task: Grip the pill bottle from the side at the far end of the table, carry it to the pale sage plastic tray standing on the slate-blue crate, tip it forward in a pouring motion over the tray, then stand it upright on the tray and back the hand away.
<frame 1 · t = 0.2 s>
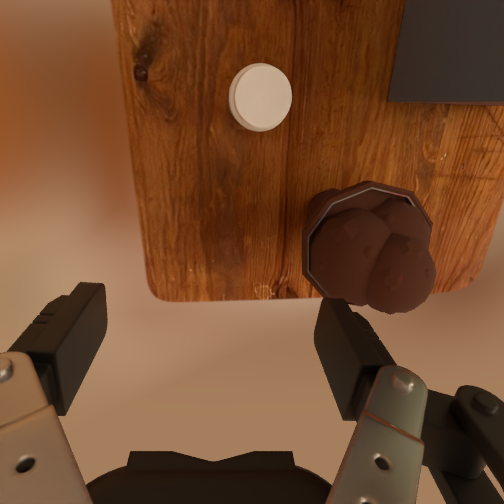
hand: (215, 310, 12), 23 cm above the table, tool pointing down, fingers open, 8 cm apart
ice cream bowl: (331, 213, 36), on the table
pill bottle: (253, 99, 30), on the table
crate: (458, 25, 29), on the table
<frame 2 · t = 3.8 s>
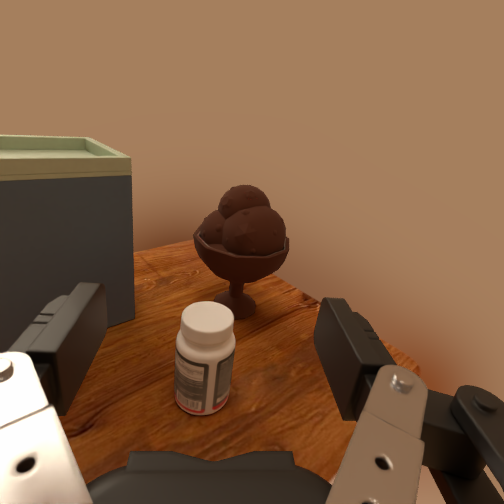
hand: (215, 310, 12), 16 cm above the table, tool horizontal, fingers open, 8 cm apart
ice cream bowl: (233, 307, 41), on the table
pill bottle: (201, 395, 29), on the table
tray: (37, 163, 29), resting on crate
crate: (58, 312, 36), on the table
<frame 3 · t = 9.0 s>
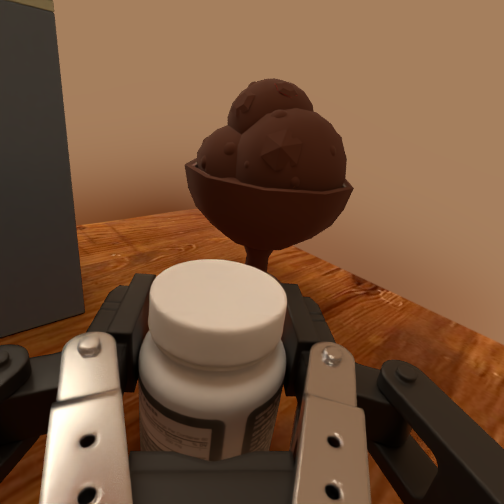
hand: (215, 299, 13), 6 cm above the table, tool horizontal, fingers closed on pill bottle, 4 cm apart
ice cream bowl: (252, 294, 26), on the table
pill bottle: (202, 471, 13), on the table, touching gripper
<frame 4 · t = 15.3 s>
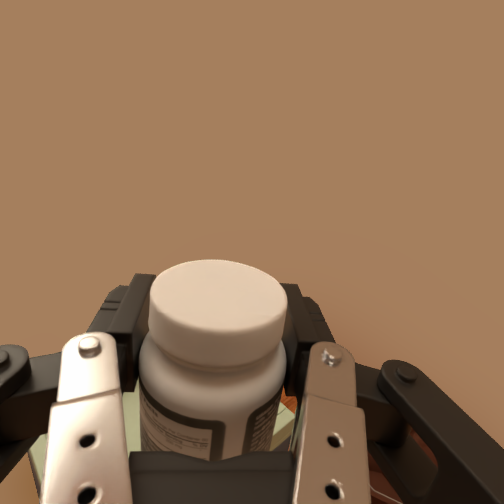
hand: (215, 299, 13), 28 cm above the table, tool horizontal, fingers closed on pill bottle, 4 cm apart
pill bottle: (203, 472, 13), point 21 cm above the table, touching gripper
tray: (161, 428, 20), resting on crate
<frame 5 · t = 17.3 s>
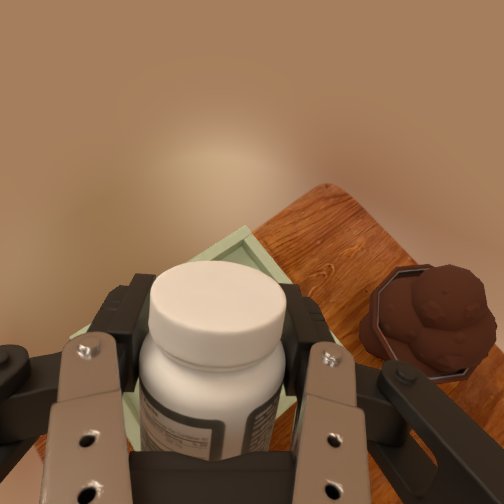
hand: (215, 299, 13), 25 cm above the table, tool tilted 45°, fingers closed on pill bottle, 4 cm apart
ice cream bowl: (380, 334, 39), on the table
pill bottle: (202, 471, 13), point 22 cm above the table, touching gripper
tray: (214, 348, 21), resting on crate
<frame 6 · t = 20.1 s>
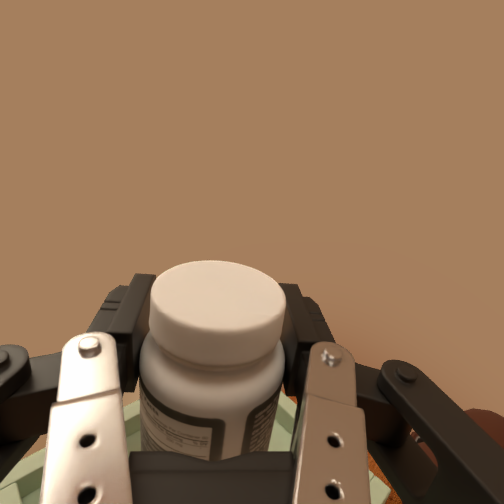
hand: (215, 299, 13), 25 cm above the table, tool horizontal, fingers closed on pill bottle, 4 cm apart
pill bottle: (202, 470, 13), point 18 cm above the table, touching gripper
when the fingers open (23 cm above the table, at t = 21.6 s): pill bottle stays where it is, resting on tray.
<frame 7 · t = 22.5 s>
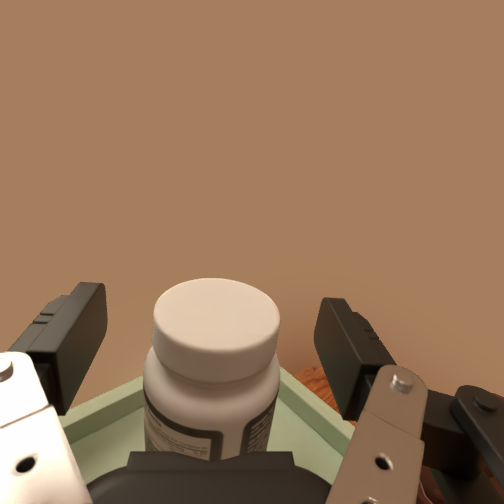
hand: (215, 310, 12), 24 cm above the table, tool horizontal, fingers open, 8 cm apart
pill bottle: (203, 475, 14), point 16 cm above the table, touching tray
tray: (202, 478, 14), resting on crate
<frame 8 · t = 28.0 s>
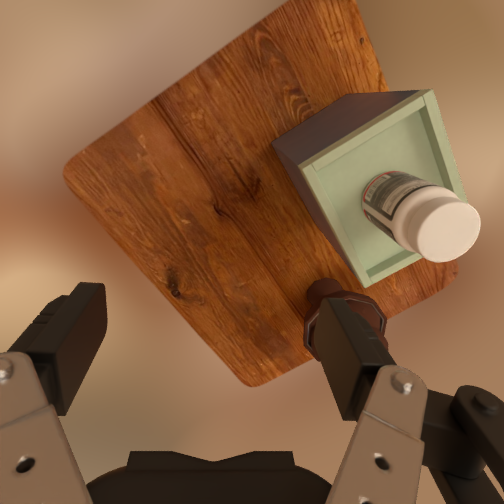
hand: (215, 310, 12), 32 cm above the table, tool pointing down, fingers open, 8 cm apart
ice cream bowl: (324, 292, 51), on the table
pill bottle: (386, 197, 28), point 16 cm above the table, touching tray
tray: (385, 195, 28), resting on crate
crate: (329, 163, 42), on the table
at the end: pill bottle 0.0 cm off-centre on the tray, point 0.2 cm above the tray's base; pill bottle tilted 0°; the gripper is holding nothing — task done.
